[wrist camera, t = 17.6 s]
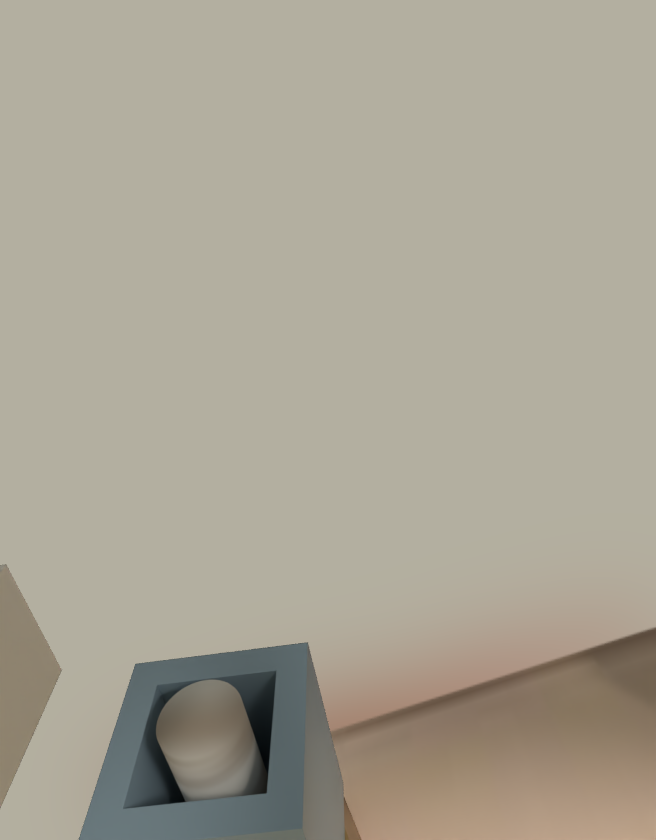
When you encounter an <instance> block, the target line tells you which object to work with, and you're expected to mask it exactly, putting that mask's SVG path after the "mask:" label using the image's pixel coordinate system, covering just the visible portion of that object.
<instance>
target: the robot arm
mask: <svg viewBox="0 0 656 840" xmlns="http://www.w3.org/2000/svg"><path fill="white" fill-rule="evenodd" d="M60 673H61V668H60V666H59V664H58V662H57V661H56V658H55V656H54V655H53V653H52V651H51V649H50V647H49V645H48V643H47V641H46V639H45V637H44V635H43V634H42V632H41V630H40V628H39V626H38V624H37V622H36V620H35V618H34V617H33V615H32V613H31V611H30V609H29V607H28V605H27V603H26V601H25V599H24V598H23V596H22V594H21V592H20V590H19V588H18V586H17V585H16V582H15V581H14V578H13V577H12V575H11V573H10V571H9V569H8V567H7V565H6V564H5V565H0V808H1V805H2V803H3V801H4V799H5V796H6V794H7V792H8V789H9V787H10V785H11V783H12V781H13V778H14V776H15V774H16V772H17V769H18V767H19V765H20V762H21V760H22V758H23V756H24V754H25V751H26V749H27V747H28V745H29V742H30V740H31V738H32V736H33V734H34V731H35V729H36V727H37V725H38V722H39V720H40V718H41V716H42V713H43V711H44V709H45V706H46V704H47V702H48V700H49V697H50V695H51V693H52V691H53V689H54V686H55V684H56V682H57V680H58V677H59V675H60Z"/></svg>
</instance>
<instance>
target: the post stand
mask: <svg viewBox="0 0 656 840" xmlns="http://www.w3.org/2000/svg"><path fill="white" fill-rule="evenodd" d="M156 736H157V740H158V742H159V745H160V747H161V749H162V751H163V753H164V756H165V758H166V760H167V762H168V764H169V767H170V769H171V771H172V773H173V775H174V778H175V780H176V782H177V784H178V786H179V788H180V791H181V793H182V795H183V797H184V799H185V802H192V801H201V800H210V799H219V798H229V797H238V796H247V795H256V794H266V793H267V785H268V774H267V772H266V769H265V766H264V763H263V760H262V757H261V754H260V751H259V748H258V745H257V742H256V739H255V737H254V734H253V731H252V728H251V725H250V722H249V719H248V716H247V713H246V710H245V707H244V704H243V702H242V699H241V696H240V694H239V692H238V691H237V690H236V688H235V687H233V686H232V685H231V684H229V683H227V682H224V681H221V680H203V681H199V682H196V683H193V684H191V685H189V686H187V687H185V688H183V689H182V690H180V691H179V692H177V693H176V694H175V695H174V696H173V697H172V698H171V699H170V700H169V701H168V702H167V703H166V705H165V706H164V708H163V709H162V711H161V713H160V715H159V718H158V720H157V725H156ZM344 826H345V840H361V838H360V835H359V833H358V830H357V828H356V825H355V823H354V820H353V818H352V815H351V813H350V811H349V808H348V806H347V803H346V801H345V798H344Z"/></svg>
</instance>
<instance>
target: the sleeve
mask: <svg viewBox="0 0 656 840" xmlns="http://www.w3.org/2000/svg"><path fill="white" fill-rule="evenodd" d="M203 680H221V681H224V682H227V683H229V684H231V685H232V686H233V687H235V688H236V690H237V691H238V692H239V694H240V696H241V699H242V702H243V704H244V707H245V710H246V713H247V716H248V719H249V722H250V725H251V728H252V731H253V734H254V737H255V739H256V742H257V745H258V748H259V751H260V754H261V757H262V760H263V763H264V766H265V769H266V772H267V774H268V785H267V793H266V794H256V795H247V796H238V797H229V798H219V799H210V800H201V801H192V802H185V799H184V797H183V795H182V793H181V791H180V788H179V786H178V784H177V782H176V780H175V778H174V775H173V773H172V771H171V769H170V767H169V764H168V762H167V760H166V758H165V756H164V753H163V751H162V749H161V747H160V745H159V742H158V740H157V736H156V725H157V720H158V718H159V715H160V713H161V711H162V709H163V708H164V706H165V705H166V703H167V702H168V701H169V700H170V699H171V698H172V697H173V696H174V695H175V694H176V693H177V692H179V691H180V690H182V689H183V688H185V687H187V686H189V685H191V684H193V683H196V682H199V681H203ZM79 840H345V826H344V792H343V780H342V776H341V772H340V768H339V764H338V760H337V756H336V752H335V748H334V745H333V741H332V737H331V733H330V729H329V725H328V721H327V718H326V713H325V709H324V705H323V701H322V697H321V693H320V689H319V685H318V682H317V677H316V674H315V670H314V666H313V662H312V658H311V654H310V650H309V646H308V643H299V644H291V645H283V646H276V647H268V648H259V649H251V650H243V651H235V652H227V653H219V654H211V655H204V656H195V657H188V658H179V659H171V660H163V661H155V662H147V663H139V664H135V667H134V670H133V673H132V676H131V680H130V682H129V686H128V689H127V692H126V695H125V698H124V701H123V704H122V707H121V710H120V713H119V717H118V720H117V723H116V726H115V729H114V732H113V735H112V738H111V741H110V744H109V747H108V750H107V754H106V757H105V760H104V763H103V766H102V769H101V772H100V775H99V778H98V781H97V785H96V788H95V791H94V794H93V797H92V800H91V803H90V806H89V809H88V812H87V816H86V819H85V822H84V825H83V828H82V831H81V834H80V837H79Z"/></svg>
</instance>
